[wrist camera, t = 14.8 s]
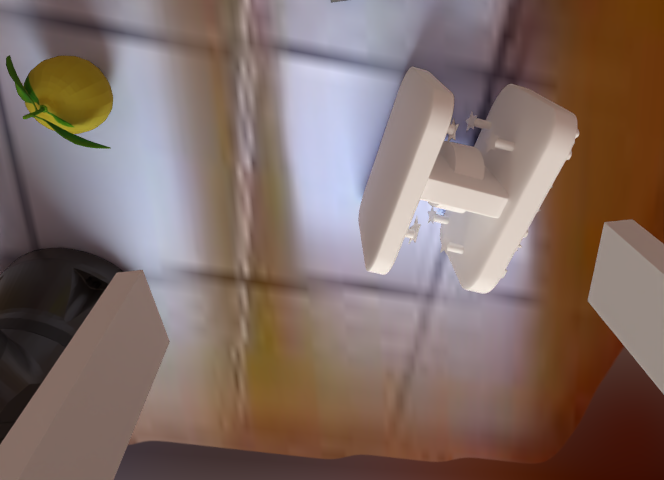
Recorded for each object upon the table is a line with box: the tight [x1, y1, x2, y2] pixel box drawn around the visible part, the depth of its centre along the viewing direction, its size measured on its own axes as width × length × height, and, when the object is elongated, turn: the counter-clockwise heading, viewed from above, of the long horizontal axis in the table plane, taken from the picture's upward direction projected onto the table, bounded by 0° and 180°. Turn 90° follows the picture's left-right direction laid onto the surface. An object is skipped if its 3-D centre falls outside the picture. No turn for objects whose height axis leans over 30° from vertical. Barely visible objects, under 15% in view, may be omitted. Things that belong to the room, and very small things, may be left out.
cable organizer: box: [358, 66, 579, 294], centre depth 37 cm, size 15×11×12 cm
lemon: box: [6, 55, 113, 148], centre depth 34 cm, size 7×6×10 cm
